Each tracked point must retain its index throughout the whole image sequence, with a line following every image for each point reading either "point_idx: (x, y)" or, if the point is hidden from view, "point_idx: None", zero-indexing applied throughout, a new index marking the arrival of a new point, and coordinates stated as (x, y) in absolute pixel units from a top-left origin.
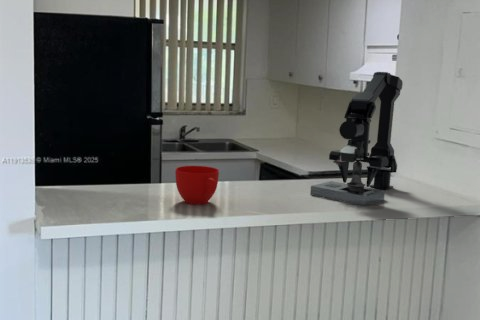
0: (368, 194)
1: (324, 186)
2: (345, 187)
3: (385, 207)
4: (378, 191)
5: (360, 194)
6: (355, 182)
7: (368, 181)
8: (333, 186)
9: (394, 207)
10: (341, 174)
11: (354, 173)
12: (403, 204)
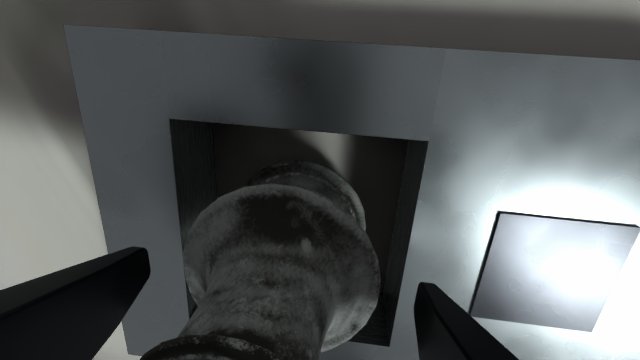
0: (105, 138)
1: (627, 170)
2: (406, 274)
3: (31, 112)
4: (137, 307)
5: (144, 73)
6: (247, 245)
7: (65, 271)
8: (526, 228)
9: (6, 158)
10: (511, 356)
11: (216, 337)
12: (37, 270)
